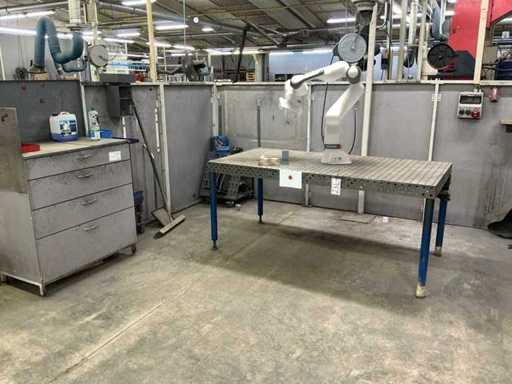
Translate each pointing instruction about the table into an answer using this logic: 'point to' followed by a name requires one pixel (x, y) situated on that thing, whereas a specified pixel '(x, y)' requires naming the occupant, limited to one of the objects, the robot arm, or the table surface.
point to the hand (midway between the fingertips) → (290, 117)
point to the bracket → (285, 157)
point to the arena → (269, 161)
